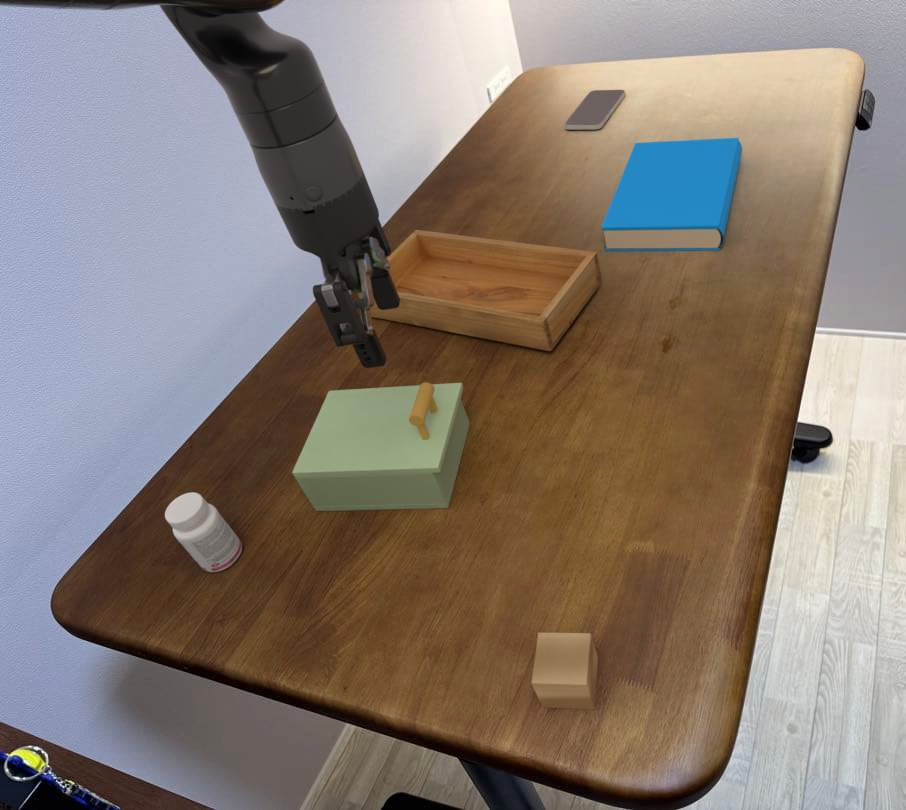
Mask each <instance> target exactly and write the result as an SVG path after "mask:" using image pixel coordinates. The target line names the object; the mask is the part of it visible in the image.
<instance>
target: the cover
mask: <svg viewBox="0 0 906 810" xmlns="http://www.w3.org/2000/svg"><path fill="white" fill-rule="evenodd" d="M463 390H464V385H463V382H451V383H450V382H449V383H437V384H436V383H433V384H432V383H430V382H427V381H426V382H422V383H420V384H418V385H401V386H400V385H399V386H386V387H370V388H368V387H367V388H353V389H352V388H351V389H337V390H336V389H335V390H334V389H333V390H328V392H327V393H326V397H325V399H324V400H323V403H322V405H321V407H320V410H319V412H318V414H317V416H316V418H315V420H314V423H313V425H312V427H311V430H310V432H309V434H308V437H307V438H306V441H305V442H304V445H303V447H302V450H301V451H300V454H299V456H298V459H297V461H296V463H295V465H294V467H293V470H292V471H291V474H292V475H293V477H294V478H295V477H321V476H351V475H380V474H409V473H438V472H440V470H441V467H442V463H443V460H444V456H445V452H446V449H447V445H448V442H449V438H450V434H451V431H452V427H453V424H454V420H455V416H456V413H457V409H458V406H459V402H460V398H461V399H462V394H463Z"/></svg>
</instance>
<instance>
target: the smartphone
mask: <svg viewBox="0 0 906 810" xmlns="http://www.w3.org/2000/svg"><path fill="white" fill-rule="evenodd" d="M625 97H626V90H624V89H595V90H591V91H589V92H588V93H587V94H586V95H585V97H584V98H583V99H582V101H581V102H580V103H579V105H578V106H577V107H576V108H575V110H574V111H573V112H572V113H571V114H570V116H569V117H568V118H567V119H566V121H565V122H564V128H565V130H599V129H601V128H603V127H604V125H605V124H606V122H607V121H608V120H609V119H610V118H611V116H612V114H613V113H614V112H615V110H616V109H617V108H618V106H619V105H620V104H621V102H622V101H623V99H624V98H625Z"/></svg>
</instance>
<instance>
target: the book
mask: <svg viewBox="0 0 906 810" xmlns="http://www.w3.org/2000/svg"><path fill="white" fill-rule="evenodd" d="M742 153H743V146H742V144H741V141H740V138H739V137H724V138H723V137H722V138H707V139H704V138H703V139H687V140H669V141H667V140H666V141H647V142H645V141H644V142H635V143H634V145H633V148H632V151H631V152H630V155H629V157H628V160H627V163H626V164H625V166H624V167H625V168H624V170H623V173H622V175H621V177H620V180H619V181H618V185H617V186H616V189H615V192H614V195H613V197H612V200H611V202H610V204H609V206H608V210H607V212H606V215H605V217H604V220H603V222H602V225H601V228H600V229H601V231H603V235H604V241H605V246H604V251H605V252H631V251H632V252H642V251H643V252H651V251H652V252H653V251H654V252H655V251H659V252H660V251H661V252H662V251H663V252H664V251H665V252H666V251H667V252H668V251H670V252H673V251H685V252H687V251H721V247H722V245H723V243H724V238H725V233H726V229H727V225H728V219H729V215H730V210H731V206H732V200H733V195H734V192H735V191H734V190H735V186H736V181H737V178H738V177H737V176H738V172H739V167H740V162H741V159H742Z"/></svg>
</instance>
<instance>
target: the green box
mask: <svg viewBox="0 0 906 810" xmlns="http://www.w3.org/2000/svg"><path fill="white" fill-rule="evenodd" d="M470 425H471V423H470V420H469V417H468V414H467V412H466V409H465V406H464V404H463V400H462V397H461V398H460V402H459V406H458V409H457V413H456V416H455V420H454V424H453V427H452V431H451V434H450V438H449V442H448V445H447V449H446V452H445V456H444V460H443V463H442V467H441V470H440V472H438V473H409V474H380V475H351V476H321V477H294V478H295V480H296V482H297V483H298V485H299V486H300V488H301V490H302V491H303V493H304V494H305V497H306V498H307V499H308V501H309V502H310V504H311V506H312V507H313V509H314V510H315V511H316V512H337V511H338V512H339V511H340V512H341V511H346V512H347V511H381V510H386V511H387V510H388V511H389V510H423V509H425V510H426V509H428V510H429V509H449V506H450V502H451V500H452V495H453V491H454V487H455V483H456V479H457V475H458V472H459V467H460V465H461V464H460V463H461V460H462V455H463V451H464V448H465V444H466V441H467V437H468V432H469V429H470Z"/></svg>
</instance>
